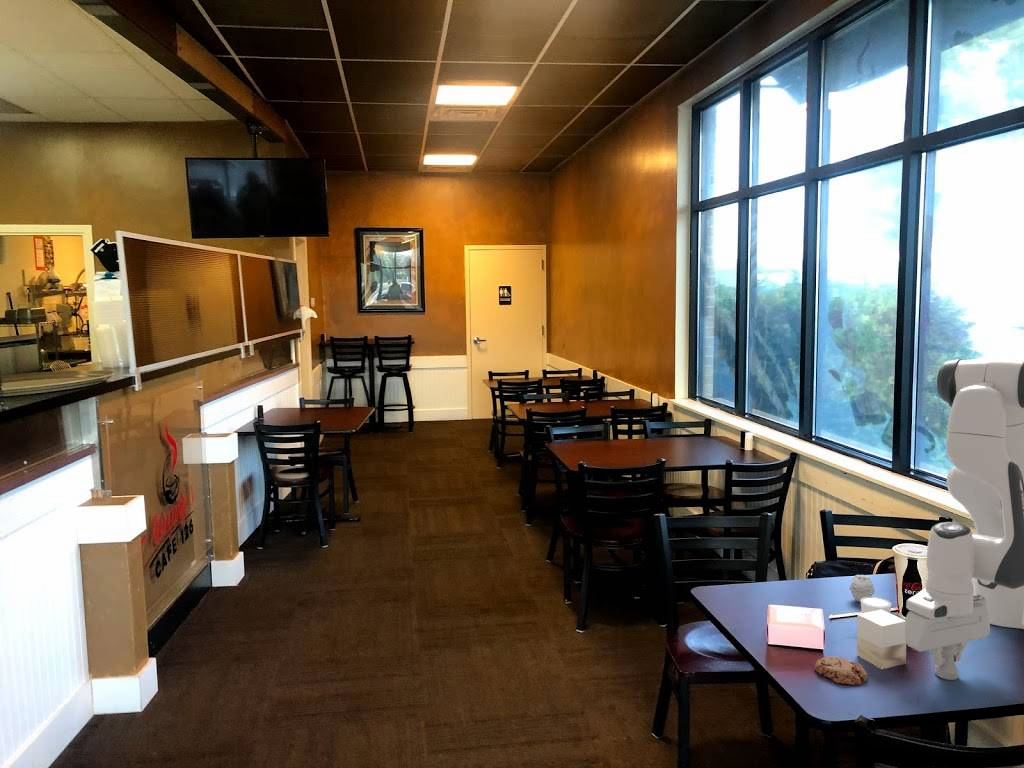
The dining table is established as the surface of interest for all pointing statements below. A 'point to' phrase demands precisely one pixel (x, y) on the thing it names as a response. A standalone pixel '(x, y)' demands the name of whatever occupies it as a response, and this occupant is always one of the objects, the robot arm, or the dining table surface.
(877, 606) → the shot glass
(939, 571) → the robot arm
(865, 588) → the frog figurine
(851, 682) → the cookie
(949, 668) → the rook chess piece
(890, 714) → the dining table surface
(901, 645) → the lower block
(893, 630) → the upper block
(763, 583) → the dining table surface
